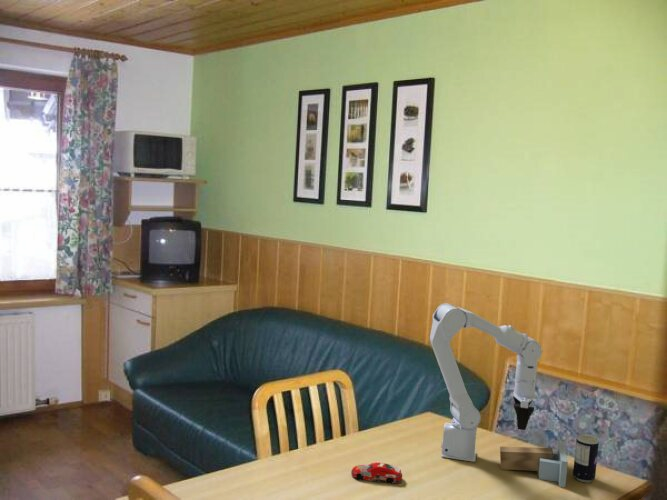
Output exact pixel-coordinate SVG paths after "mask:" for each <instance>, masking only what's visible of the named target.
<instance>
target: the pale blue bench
mask: <svg viewBox="0 0 667 500" xmlns="http://www.w3.org/2000/svg"><path fill="white" fill-rule="evenodd" d="M555 444H556V447H555V450H553V460H548V459H542V458H540V465H539V471H537V476H538V480H543V481H544V480H545V481H550V482H557V483H558V487H559V488H564V489H565V488H566V482H567V473H568V472H567V471H568V465H569V464H568V461H569V460H568V457H567V453H566V449H565V446H564V442H563V440H556V443H555Z"/></svg>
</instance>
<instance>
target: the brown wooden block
mask: <svg viewBox="0 0 667 500" xmlns="http://www.w3.org/2000/svg"><path fill="white" fill-rule="evenodd" d="M499 447H500V449H499V452H500V453H499V457H500V459H499V461H500V470H506V471H507V470H508V471H509V470H510V471H511V470H513V471H534V472H535V471H537V472H538V471H539V465H540V458H542V459H548V460H553V451H554V449H553V448H552V447H532V446H531V447H528V446H527V447H526V446H499Z"/></svg>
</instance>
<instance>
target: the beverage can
mask: <svg viewBox="0 0 667 500" xmlns="http://www.w3.org/2000/svg"><path fill="white" fill-rule="evenodd" d="M598 438H599V437H597V436H596V435H594V434H591V433H585V432H582V433H578V435H577V437H576V440H575V449H574V451H575V452H574V460H573V469H572V470H573V471H572V475H573V476H574V478H575V479H576V480H577V481H578V482H582V483H591V482H593V481H594V480H595V479H596V474H597V473H596V472H597V464H598V463H597V462H598V455H599V443H600V442H599V440H598Z"/></svg>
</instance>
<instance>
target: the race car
mask: <svg viewBox="0 0 667 500" xmlns="http://www.w3.org/2000/svg"><path fill="white" fill-rule="evenodd" d="M350 472H351V476H352V478H354V479H356V480H357V481H369V482H378V483H386V484H390V485H393V484H399V483H401V482H402V479H403V473H402V469H401V468H399V467H397V466H395V465H393V464H389V463H384V462H371V463H370V464H358V465H355V466H354V467H353V468H352V469H351V471H350Z"/></svg>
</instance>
